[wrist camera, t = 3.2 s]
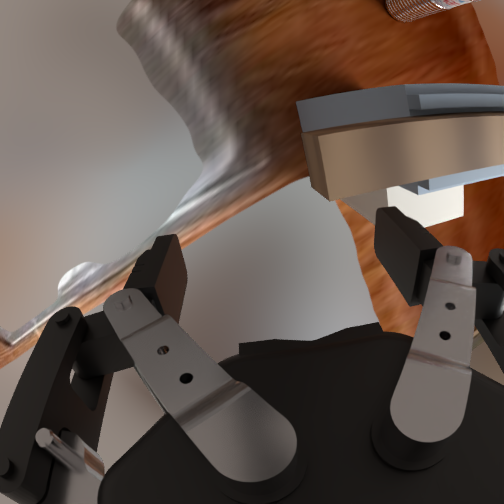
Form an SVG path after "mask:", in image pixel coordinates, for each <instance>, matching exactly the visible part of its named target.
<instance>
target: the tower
mask: <svg viewBox="0 0 504 504" xmlns="http://www.w3.org/2000/svg"><path fill="white" fill-rule="evenodd" d="M296 105H297V109H298V114H299V118H300V123H301V127H302V132H308V131H313V130H319V129H324V128H330V127H336V126H342V125H348V124H354V123H361V122H368V121H375V120H383V119H391V118H399V117H409V116H419V115H430V114H443V113H459V112H484V111H504V86H495V85H479V84H407V85H396V86H387V87H378V88H371V89H364V90H357V91H350V92H344V93H338V94H332V95H327V96H321V97H316V98H311V99H306V100H301V101H297V102H296ZM500 176H504V164H502V165H497V166H491V167H486V168H481V169H476V170H471V171H466V172H461V173H456V174H451V175H446V176H441V177H437V178H432V179H427V180H422V181H418V182H413V183H408V184H404V185H399V186H400V187H402V188H404V189H406V190H408V191H410V192H412V193H415V194H417V195H422V194H426V193H431V192H435V191H439V190H443V189H448V188H452V187H456V186H460V185H465V184H469V183H473V182H478V181H482V180H487V179H491V178H495V177H500Z"/></svg>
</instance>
